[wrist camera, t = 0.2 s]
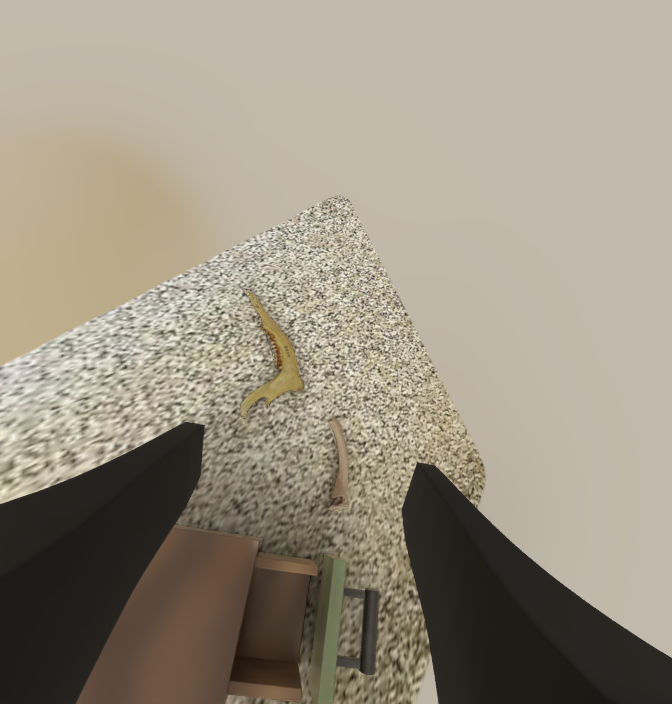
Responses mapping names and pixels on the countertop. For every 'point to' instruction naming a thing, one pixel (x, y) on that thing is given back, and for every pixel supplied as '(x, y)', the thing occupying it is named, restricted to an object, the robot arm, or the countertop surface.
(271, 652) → the drawer
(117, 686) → the cabinet
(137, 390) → the countertop surface
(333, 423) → the bone
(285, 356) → the jawbone
